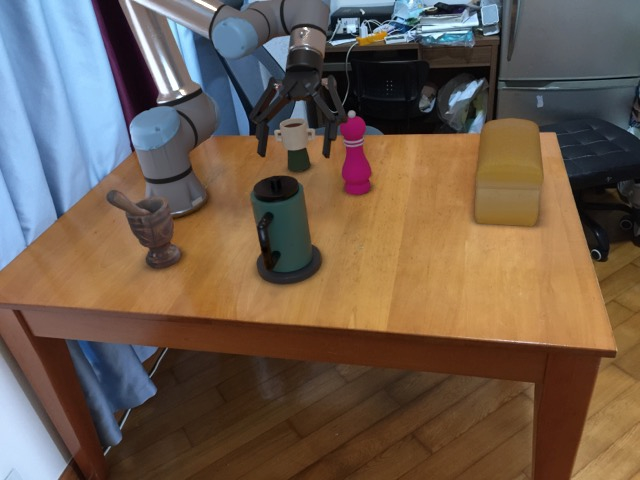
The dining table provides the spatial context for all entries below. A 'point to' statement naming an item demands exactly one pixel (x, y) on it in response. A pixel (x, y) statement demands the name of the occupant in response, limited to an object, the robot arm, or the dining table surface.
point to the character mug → (295, 142)
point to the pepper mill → (355, 156)
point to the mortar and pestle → (150, 227)
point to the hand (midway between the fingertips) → (292, 155)
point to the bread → (508, 173)
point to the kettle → (282, 223)
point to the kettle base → (293, 275)
